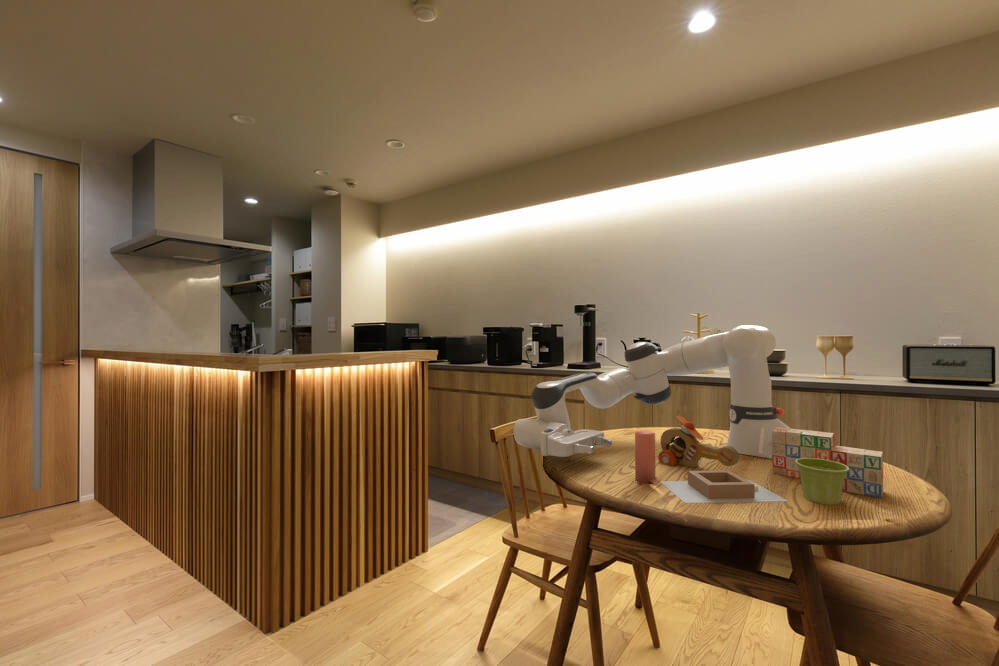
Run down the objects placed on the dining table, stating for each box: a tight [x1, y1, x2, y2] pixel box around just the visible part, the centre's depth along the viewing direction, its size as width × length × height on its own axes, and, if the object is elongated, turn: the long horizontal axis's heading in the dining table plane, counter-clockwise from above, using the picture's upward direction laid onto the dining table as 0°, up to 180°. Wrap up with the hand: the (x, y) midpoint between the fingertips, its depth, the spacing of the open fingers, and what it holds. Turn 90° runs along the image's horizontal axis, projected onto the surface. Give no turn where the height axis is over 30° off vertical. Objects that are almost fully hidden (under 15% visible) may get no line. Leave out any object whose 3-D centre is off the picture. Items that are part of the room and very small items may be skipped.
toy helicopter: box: [657, 415, 740, 468], centre depth 120 cm, size 8×21×14 cm, turn 39°
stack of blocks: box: [771, 427, 884, 499], centre depth 110 cm, size 21×6×12 cm, turn 46°
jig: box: [659, 469, 788, 504], centre depth 102 cm, size 22×14×4 cm, turn 92°
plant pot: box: [795, 458, 849, 505], centre depth 97 cm, size 9×9×9 cm
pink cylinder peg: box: [634, 430, 657, 485], centre depth 113 cm, size 5×5×12 cm
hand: (601, 446), depth 121 cm, fingers open, 8 cm apart
